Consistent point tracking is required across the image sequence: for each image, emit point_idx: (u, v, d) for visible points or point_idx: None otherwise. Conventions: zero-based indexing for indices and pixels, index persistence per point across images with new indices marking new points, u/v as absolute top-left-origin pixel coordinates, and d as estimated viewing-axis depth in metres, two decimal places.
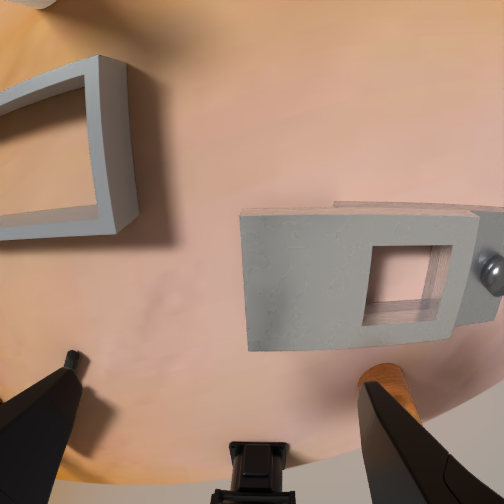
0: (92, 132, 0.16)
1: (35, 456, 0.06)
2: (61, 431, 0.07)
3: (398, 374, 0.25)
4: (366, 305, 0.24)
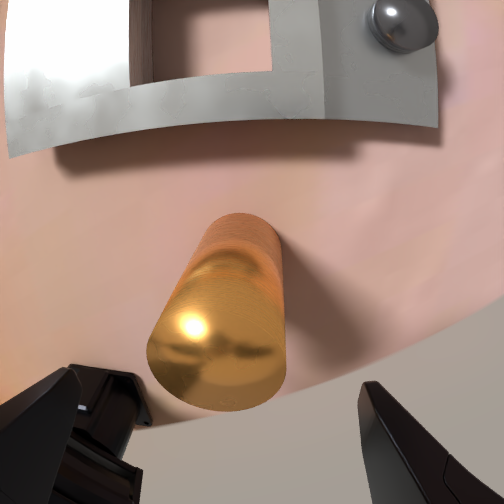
0: None
1: (35, 456, 0.06)
2: (61, 431, 0.07)
3: (257, 226, 0.16)
4: None
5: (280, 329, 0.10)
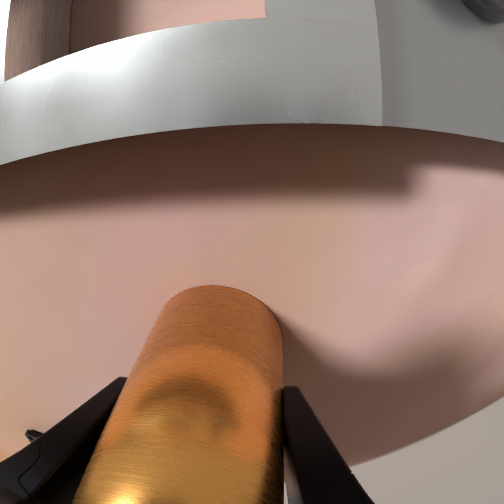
0: None
1: None
2: None
3: (241, 317, 0.09)
4: None
5: None
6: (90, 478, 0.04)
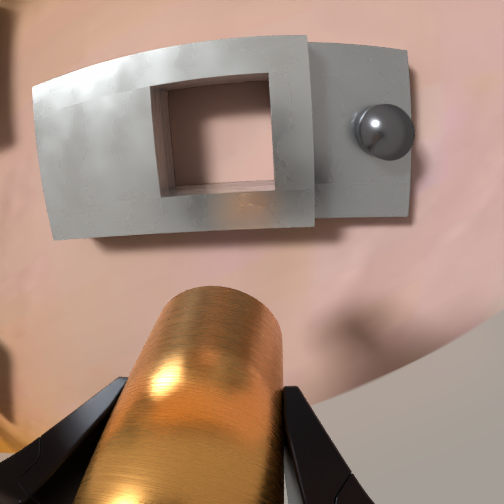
0: None
1: None
2: None
3: (241, 318, 0.09)
4: (190, 186, 0.19)
5: None
6: (91, 479, 0.04)
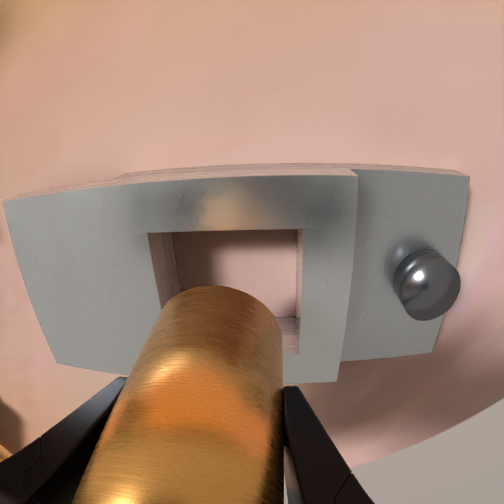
0: None
1: None
2: None
3: (241, 318, 0.09)
4: None
5: None
6: (89, 479, 0.04)
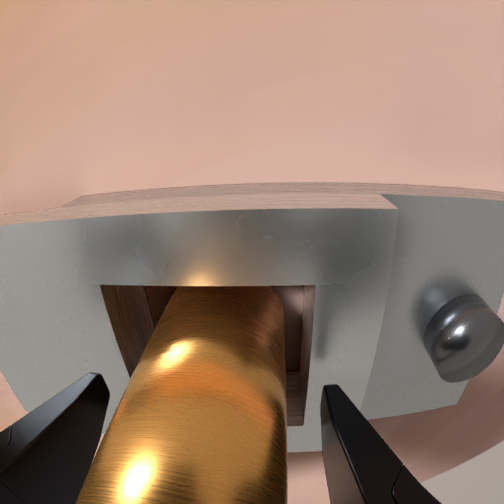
0: None
1: (64, 468, 0.06)
2: (90, 439, 0.07)
3: (248, 291, 0.10)
4: None
5: None
6: (117, 423, 0.06)
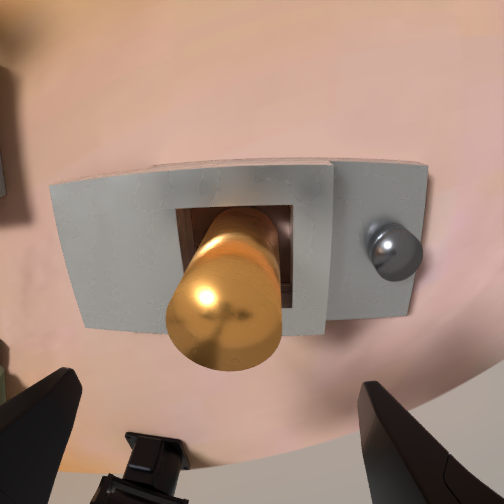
0: None
1: (35, 456, 0.06)
2: (61, 431, 0.07)
3: (257, 217, 0.18)
4: None
5: (277, 296, 0.12)
6: (195, 260, 0.13)
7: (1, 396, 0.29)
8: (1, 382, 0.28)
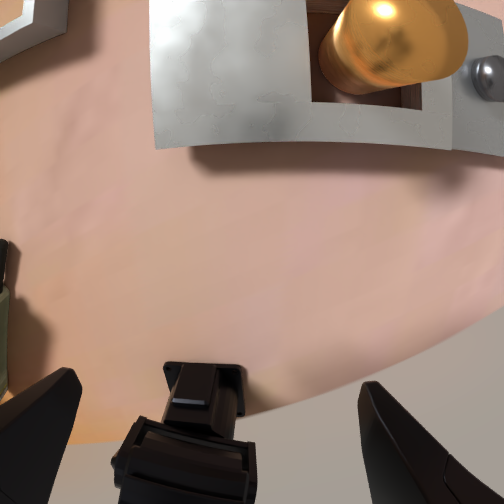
0: None
1: (35, 456, 0.06)
2: (61, 431, 0.07)
3: None
4: None
5: None
6: None
7: (1, 334, 0.25)
8: (3, 311, 0.24)
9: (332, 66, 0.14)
